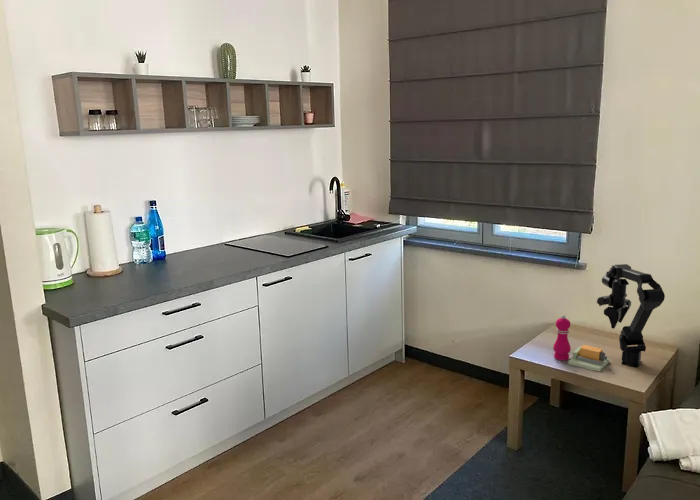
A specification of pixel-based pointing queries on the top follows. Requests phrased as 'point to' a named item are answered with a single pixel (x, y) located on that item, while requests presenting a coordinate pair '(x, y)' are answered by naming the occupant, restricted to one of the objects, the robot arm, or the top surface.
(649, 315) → the robot arm
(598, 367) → the pale green tray
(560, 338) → the pepper mill
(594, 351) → the orange tapered block
